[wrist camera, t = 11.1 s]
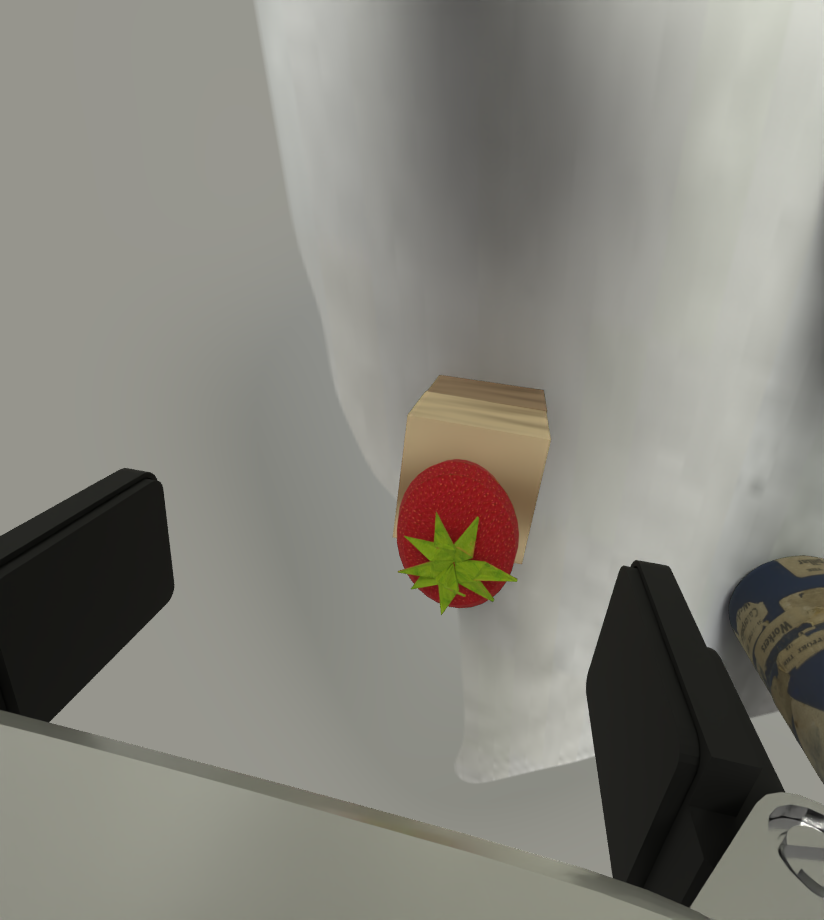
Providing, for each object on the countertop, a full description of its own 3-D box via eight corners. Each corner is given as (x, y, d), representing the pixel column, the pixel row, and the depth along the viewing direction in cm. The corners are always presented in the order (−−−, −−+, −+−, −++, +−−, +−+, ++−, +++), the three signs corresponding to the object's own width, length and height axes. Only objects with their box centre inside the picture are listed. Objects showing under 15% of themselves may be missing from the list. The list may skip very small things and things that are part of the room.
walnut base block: (439, 374, 40) (426, 392, 34) (543, 389, 39) (547, 410, 33) (427, 468, 43) (413, 498, 37) (523, 485, 42) (524, 518, 36)
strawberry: (517, 426, 28) (517, 504, 19) (520, 547, 30) (521, 669, 21) (411, 429, 29) (362, 504, 20) (422, 546, 32) (383, 660, 23)
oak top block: (425, 391, 34) (407, 414, 29) (545, 411, 33) (551, 439, 28) (411, 497, 37) (392, 537, 32) (521, 519, 36) (521, 564, 31)
